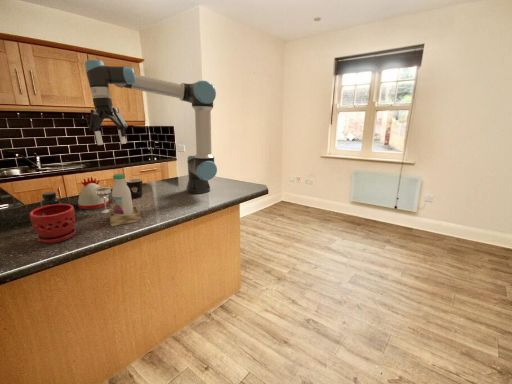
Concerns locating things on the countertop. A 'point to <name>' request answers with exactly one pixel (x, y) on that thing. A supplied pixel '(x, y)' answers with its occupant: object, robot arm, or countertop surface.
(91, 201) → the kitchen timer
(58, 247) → the countertop surface
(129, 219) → the wooden tray
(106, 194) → the wineglass
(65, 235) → the plant pot
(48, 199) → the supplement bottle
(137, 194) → the coffee mug
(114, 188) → the milk bottle
